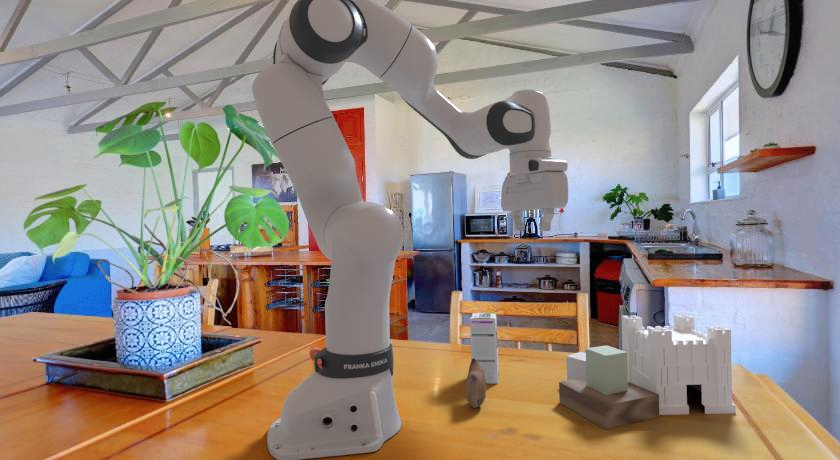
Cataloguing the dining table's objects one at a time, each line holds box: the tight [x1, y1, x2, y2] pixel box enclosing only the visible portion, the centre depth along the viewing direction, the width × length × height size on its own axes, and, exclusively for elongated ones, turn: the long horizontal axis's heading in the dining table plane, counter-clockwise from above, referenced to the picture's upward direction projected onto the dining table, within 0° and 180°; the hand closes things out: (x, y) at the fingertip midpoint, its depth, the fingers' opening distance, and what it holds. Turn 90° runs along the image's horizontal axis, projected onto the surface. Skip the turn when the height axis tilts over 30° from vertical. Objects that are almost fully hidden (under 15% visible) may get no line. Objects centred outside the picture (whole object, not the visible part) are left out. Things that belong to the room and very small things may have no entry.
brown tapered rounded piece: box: [464, 358, 487, 409], centre depth 85 cm, size 9×4×8 cm, turn 175°
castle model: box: [621, 313, 737, 416], centre depth 85 cm, size 14×14×15 cm
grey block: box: [566, 351, 586, 381], centre depth 94 cm, size 5×5×6 cm
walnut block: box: [558, 377, 660, 430], centre depth 81 cm, size 12×12×4 cm
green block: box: [585, 344, 628, 395], centre depth 81 cm, size 5×5×7 cm
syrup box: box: [469, 312, 500, 385], centre depth 98 cm, size 6×6×14 cm
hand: (531, 231), depth 95 cm, fingers open, 8 cm apart
